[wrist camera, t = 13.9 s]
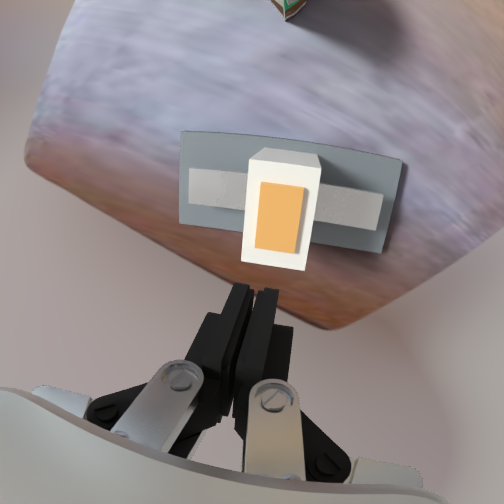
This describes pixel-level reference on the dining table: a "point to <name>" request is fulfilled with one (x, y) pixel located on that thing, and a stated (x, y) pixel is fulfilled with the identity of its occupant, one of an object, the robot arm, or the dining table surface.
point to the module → (280, 207)
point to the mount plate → (330, 173)
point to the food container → (288, 7)
